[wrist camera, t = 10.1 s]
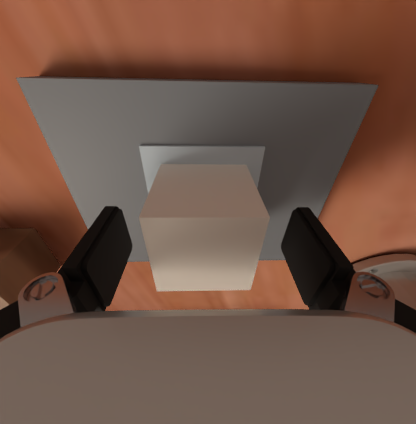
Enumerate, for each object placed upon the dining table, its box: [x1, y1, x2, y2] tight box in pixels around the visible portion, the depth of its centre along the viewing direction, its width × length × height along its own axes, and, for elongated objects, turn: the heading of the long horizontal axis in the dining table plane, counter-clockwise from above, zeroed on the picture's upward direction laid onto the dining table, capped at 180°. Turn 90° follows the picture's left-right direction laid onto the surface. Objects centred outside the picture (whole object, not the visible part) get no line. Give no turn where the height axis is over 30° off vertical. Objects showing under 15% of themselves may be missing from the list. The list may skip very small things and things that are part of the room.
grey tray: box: [17, 76, 378, 262], centre depth 14 cm, size 17×13×2 cm
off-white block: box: [139, 164, 270, 291], centre depth 11 cm, size 5×5×5 cm
